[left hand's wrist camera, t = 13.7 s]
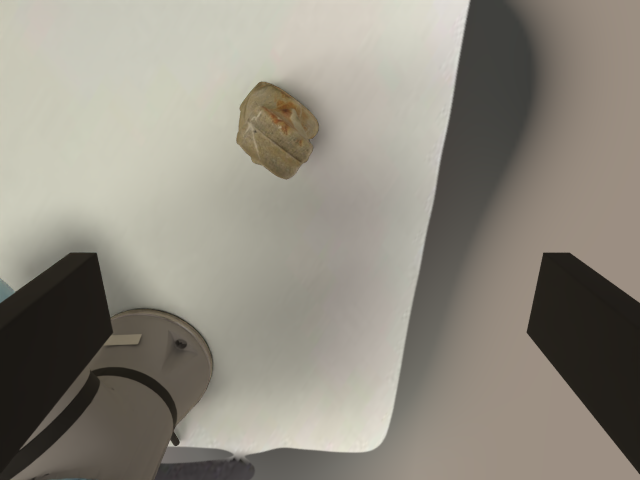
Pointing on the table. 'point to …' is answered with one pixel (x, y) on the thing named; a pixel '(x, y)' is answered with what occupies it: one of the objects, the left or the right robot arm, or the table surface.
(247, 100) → the sculpture
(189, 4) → the table surface
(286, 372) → the table surface
